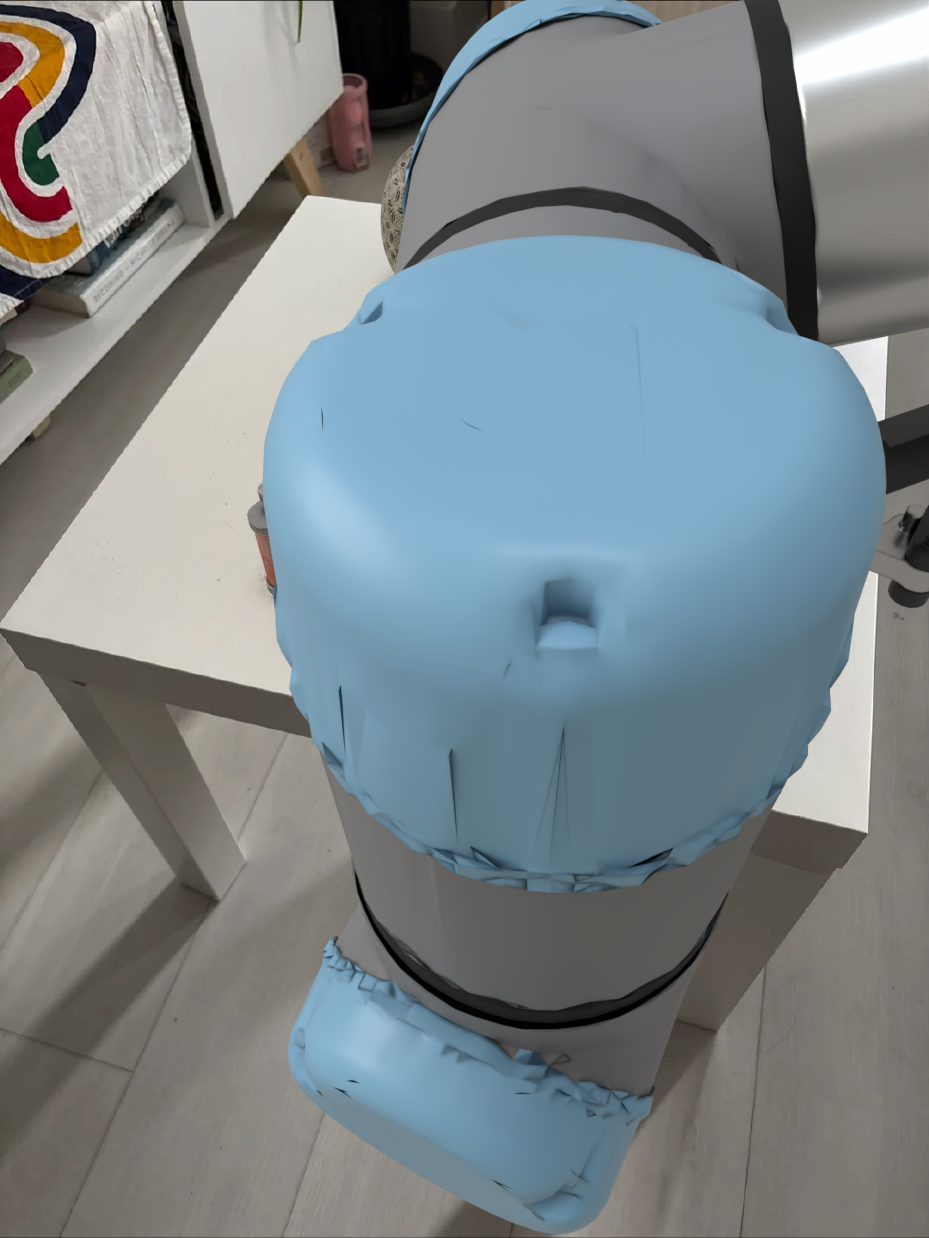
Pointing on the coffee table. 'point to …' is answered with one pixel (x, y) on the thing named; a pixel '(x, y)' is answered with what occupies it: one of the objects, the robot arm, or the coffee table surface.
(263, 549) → the lighter
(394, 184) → the decorative egg
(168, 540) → the coffee table surface
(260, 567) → the coffee table surface
